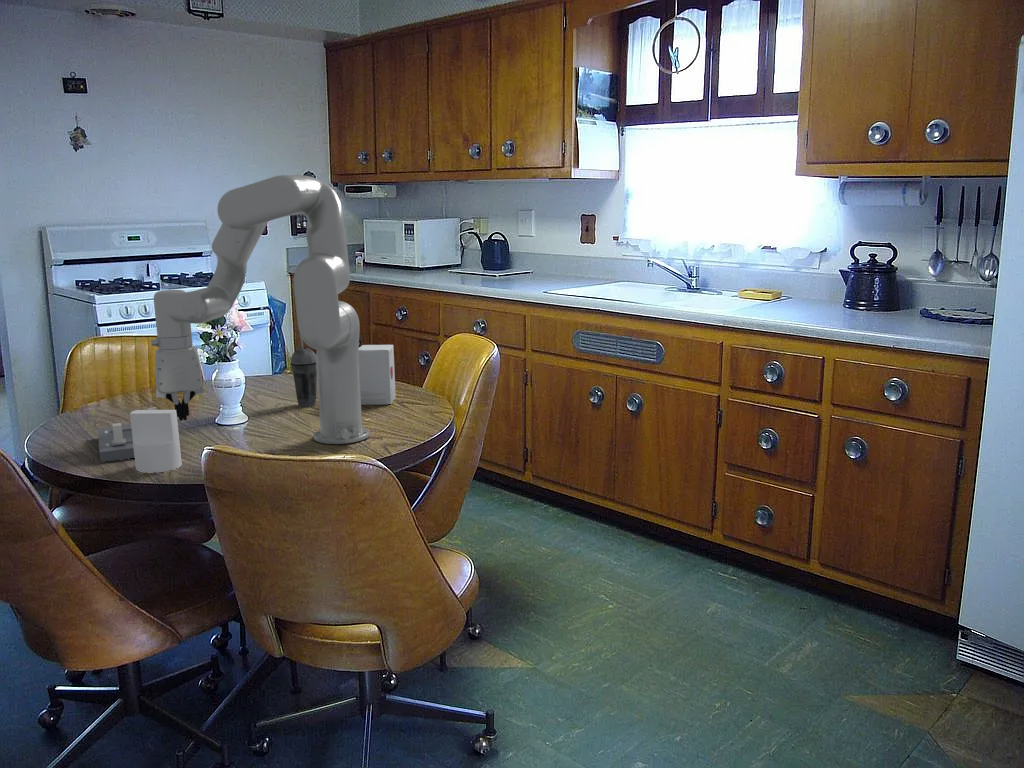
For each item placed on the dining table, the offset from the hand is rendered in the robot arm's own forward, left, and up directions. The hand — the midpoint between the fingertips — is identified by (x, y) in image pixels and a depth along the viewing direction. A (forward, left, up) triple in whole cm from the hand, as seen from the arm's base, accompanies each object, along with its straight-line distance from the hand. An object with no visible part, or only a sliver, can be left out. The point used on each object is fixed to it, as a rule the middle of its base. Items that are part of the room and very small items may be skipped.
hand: (182, 419), depth 212 cm
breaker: (-12, +15, -1) cm, 19 cm away
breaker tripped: (0, +6, -1) cm, 6 cm away
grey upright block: (-26, +7, -4) cm, 27 cm away
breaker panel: (-6, +10, -3) cm, 13 cm away
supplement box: (+9, -51, -4) cm, 51 cm away
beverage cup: (+14, -33, -4) cm, 36 cm away
